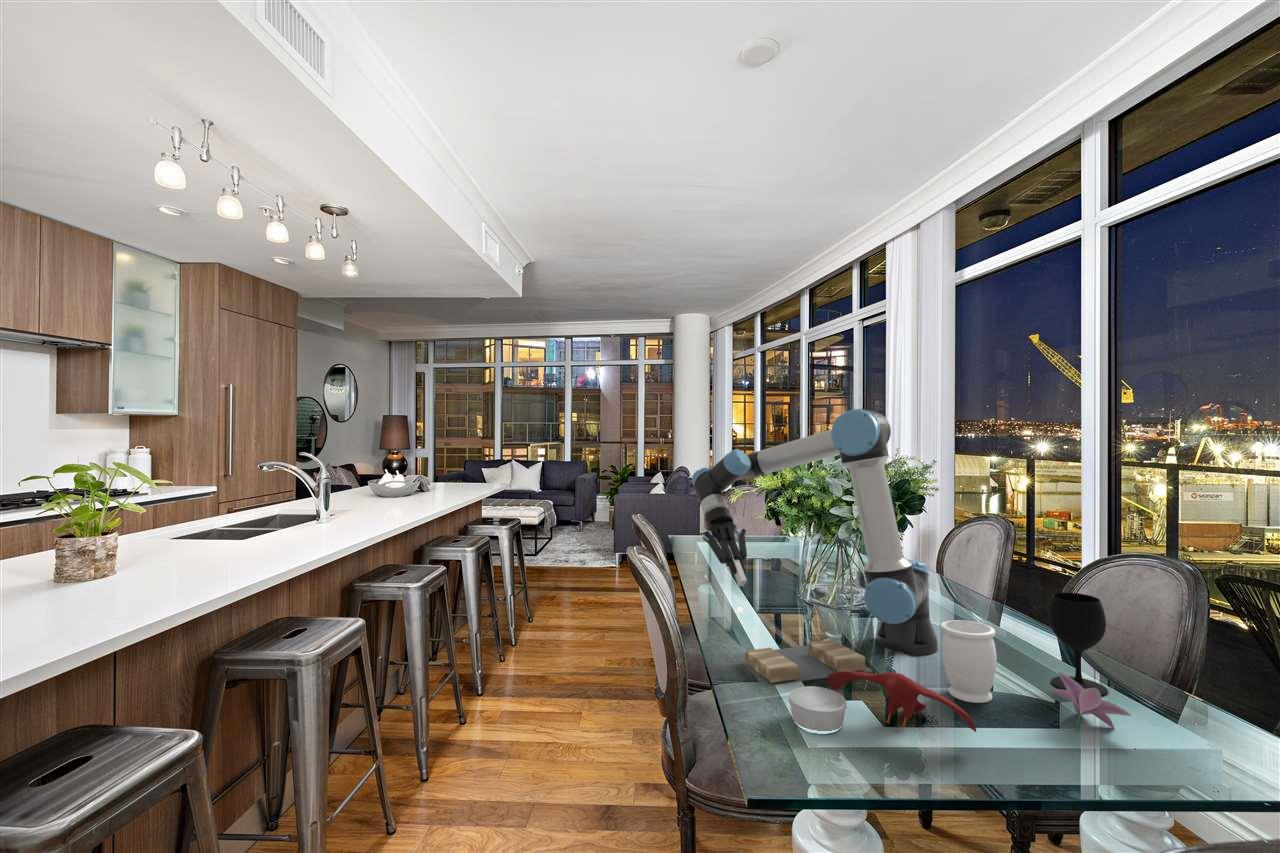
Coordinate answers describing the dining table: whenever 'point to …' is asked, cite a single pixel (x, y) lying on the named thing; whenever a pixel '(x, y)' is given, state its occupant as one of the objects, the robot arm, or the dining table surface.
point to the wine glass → (1077, 630)
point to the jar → (969, 659)
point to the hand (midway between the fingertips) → (742, 583)
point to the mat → (806, 665)
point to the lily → (1088, 701)
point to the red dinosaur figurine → (898, 692)
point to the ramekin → (817, 708)
